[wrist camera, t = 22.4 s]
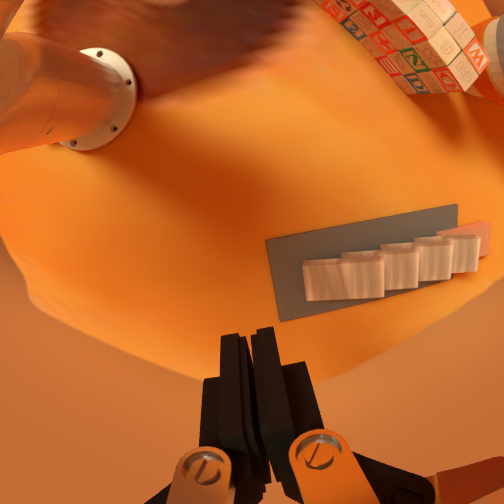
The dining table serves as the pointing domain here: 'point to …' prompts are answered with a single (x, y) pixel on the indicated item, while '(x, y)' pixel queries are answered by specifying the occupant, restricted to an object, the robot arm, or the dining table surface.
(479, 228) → the terracotta domino
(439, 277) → the cream domino
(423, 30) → the stack of blocks
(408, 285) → the cream domino
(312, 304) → the slate mat
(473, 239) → the cream domino
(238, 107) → the dining table surface
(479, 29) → the reusable coffee cup
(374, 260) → the cream domino
